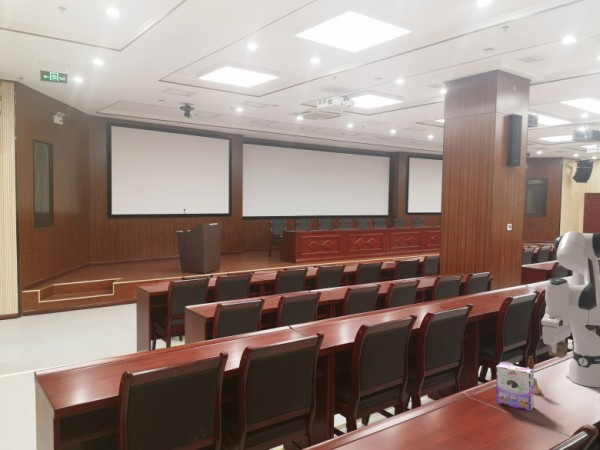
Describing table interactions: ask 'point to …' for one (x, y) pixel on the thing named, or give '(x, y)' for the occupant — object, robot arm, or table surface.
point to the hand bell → (536, 388)
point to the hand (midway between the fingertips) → (557, 350)
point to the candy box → (515, 386)
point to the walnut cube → (559, 350)
